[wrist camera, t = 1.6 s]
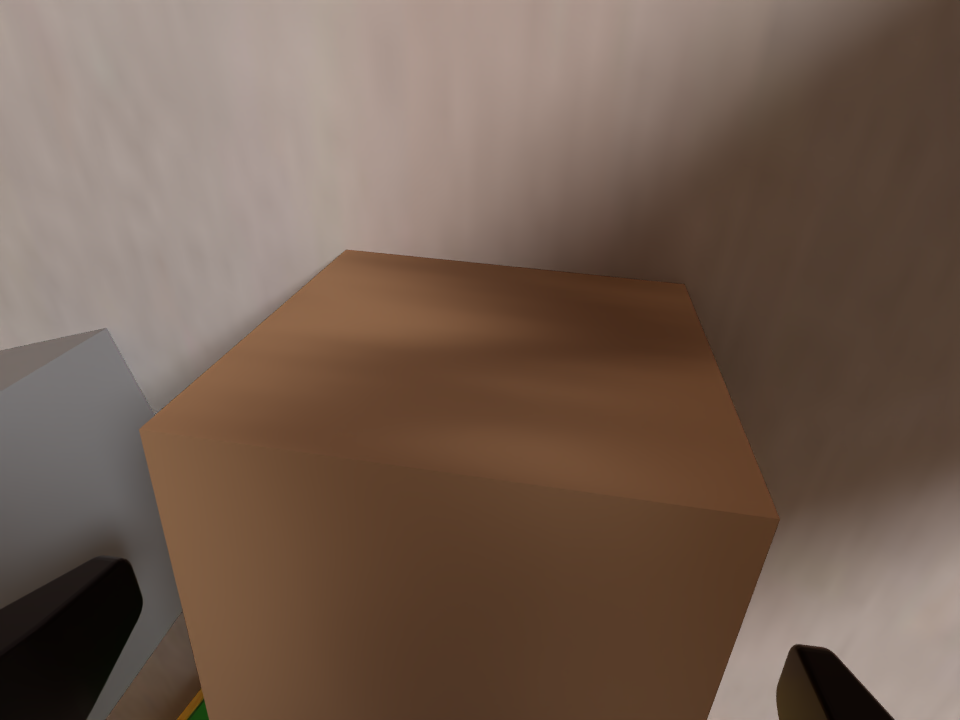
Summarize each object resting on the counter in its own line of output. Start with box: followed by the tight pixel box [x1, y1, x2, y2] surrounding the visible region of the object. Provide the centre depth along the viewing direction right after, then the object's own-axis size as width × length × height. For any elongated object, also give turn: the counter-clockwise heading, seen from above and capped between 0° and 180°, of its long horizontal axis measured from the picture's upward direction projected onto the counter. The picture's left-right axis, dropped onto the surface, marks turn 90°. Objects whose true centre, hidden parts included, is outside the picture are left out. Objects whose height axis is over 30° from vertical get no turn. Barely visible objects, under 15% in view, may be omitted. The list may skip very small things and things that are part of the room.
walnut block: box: [139, 250, 780, 720], centre depth 10 cm, size 6×6×6 cm
